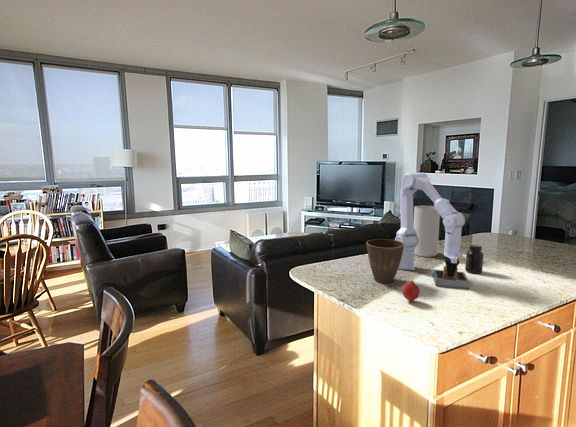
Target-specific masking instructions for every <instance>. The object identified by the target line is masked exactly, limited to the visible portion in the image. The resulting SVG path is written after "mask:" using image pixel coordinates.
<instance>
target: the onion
mask: <svg viewBox="0 0 576 427" xmlns="http://www.w3.org/2000/svg"><path fill="white" fill-rule="evenodd" d="M401 290H402V291H401V292H402V295H403V297H404V298H405V299H406V300H407V301H408V302H411V303H412V302H414V301H415V300H416V299H418V298H419V297H420V292H421V291H420V287H419V286H418V285H417V284H416V283H415V282H414V280H411V279H410V281H409V282H406V283H405V284H404V285H403V287H402V289H401Z"/></svg>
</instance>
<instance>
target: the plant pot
mask: <svg viewBox="0 0 576 427" xmlns="http://www.w3.org/2000/svg"><path fill="white" fill-rule="evenodd" d="M403 248H404V243H402V242H400V241H396V240H395V239H386V238H376V239H370V240H367V241H366V249H367V255H368V262H369V265H370V270H371V272H372V276H373V279H374V281H375V282H377V283H381V284H390V283H393V282H394V280H395V277H396V275H397V273H398V271H399V269H398V268H399V265H400V261H401V258H402V253H403Z"/></svg>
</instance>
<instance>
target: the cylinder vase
mask: <svg viewBox="0 0 576 427" xmlns="http://www.w3.org/2000/svg"><path fill="white" fill-rule="evenodd" d="M440 218H441V216H440V214H439V213H438V212H437V210H436V209H435V208H434V205H415V206H413V228H414V229H415V230H416V231H417V236H418V239H419V243H418V245H417V246H416V249H415V252H414V256H417V257H425V258H432V257H435V256H438V249H439V248H438V247H439V236H440V235H439V234H440V233H439V232H440Z"/></svg>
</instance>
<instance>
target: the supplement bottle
mask: <svg viewBox="0 0 576 427" xmlns="http://www.w3.org/2000/svg"><path fill="white" fill-rule="evenodd" d="M468 247H469V248H468V249H469V250H467V251H466V254H465V267H464V270H465V272H467V273H469V274H473V275H474V274H476V275H479V274H480V275H481V274H482V273H483V268H484V267H483V266H484V258H485V257H484V255H485V254H484V253H483V251H482V250H483V249H482V248H483V246H482V245H480V244H469V246H468Z"/></svg>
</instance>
